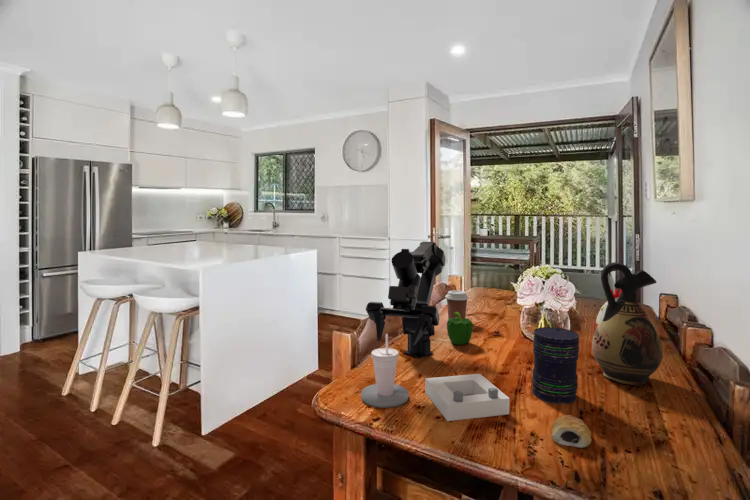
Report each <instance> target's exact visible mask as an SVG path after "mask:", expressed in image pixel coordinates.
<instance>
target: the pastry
mask: <svg viewBox="0 0 750 500" xmlns="http://www.w3.org/2000/svg"><path fill="white" fill-rule="evenodd" d="M551 427H552V428H551V430H552V432H551V439H552V440H553V442H554V443H557V444H559V445H561V446H567V447H574V448H579V449H583V448H587V447H589V446H590V445H591V443H592V441H593V440H592V432H591V431H590V428H589V427H588V425H587V424H586V423H585V421H583V420H582V419H581V418H579V417H576V416H573V415H571V414H566V415H560V416H557V418H556V419H555V420H554V422H553V424H552V426H551Z"/></svg>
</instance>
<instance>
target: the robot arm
mask: <svg viewBox="0 0 750 500" xmlns="http://www.w3.org/2000/svg"><path fill="white" fill-rule="evenodd" d="M391 264H392V267H393V271H394V273H395V275H396V279H398V284H397V286H396V285H390V286H389V287H388V294H387V295H388V296H387V299H388V300H389V301H390V302H389V304H390V306H392V307H385V305H384V303H383V302H379V301H369V302H368V303H367V304H366V306H365V311H366V313H367V315H368V317H369V319H370V320H371V321H373V323H374V324H375V329H376V338H377V339H376V340H377V342H381V340H382V337H383V333H384V330H385V325H386V321H385V320H386V318H387V316H390V317H402V320H401V325H402V331H403V332H402V333H403V335H407V350H404V351H403V353H404V354H406V355H409V356H411V357H412V356H413V357H415V358H418V359H420V358H423V357H426V356H429V355H432V354H434V351H432V350H431V346H432V345H431V343H432V342H431V339H430V338H431V337H434V336H435V333H436V331H435V330H436V329H435V327H436V326H437V327H438V326H439V324H440V313H439V310H438V308H437V306H436V305H430V302H431V297H432V293H433V290H434V285H435V281H436V277H437V276H438V275H440V274H441V273H442V272H443V269H444V267H445V265H446V255H445V252H444V250H443V249H441V248H440V247H439V246H438V245H437V243H436V242H435V241H422V242H420V243H419V245H418V247H416V249H414V250H413V251H410V249H409V248H402V249H401V250H400V251H399V252H397V253H395V254H394V255H393V257H392V258H391ZM419 274H421V275H419Z"/></svg>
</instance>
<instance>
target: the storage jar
mask: <svg viewBox="0 0 750 500" xmlns="http://www.w3.org/2000/svg"><path fill="white" fill-rule="evenodd" d="M533 335H534V336H533V341H532V342H533V343H532V344H533V345H532V346H533V348H532V355H534V357H533V369H532V376H531V382H532V389H531V393H532V395H533V396H534V397H535V396H536V397H535V398H537V399H538V398H539V399H538V400H540V399H541V401H543V402H546V403H549V404H550V403H551V404H556V405H569V404H573V403H575V402H576V401H577V397H578V396H577V393H578V383H579V382H578V375H577V371H578V370H577V369H578V365H577V364H578V360H579V356H580V355H579V352H580V345H579V344H580V341H579V340H580V334H579V333H578V332H576V331H574V330H572V329H571V330H570V329H567V328H566V329H565V328H560V327H554V326H553V327H552V326H551V327H550V326H547V327H538V328H535V329H534V330H533Z"/></svg>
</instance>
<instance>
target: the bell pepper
mask: <svg viewBox="0 0 750 500" xmlns="http://www.w3.org/2000/svg"><path fill="white" fill-rule="evenodd" d="M455 315H458V317H456V318H449V320H448V319H447V323H446V330H447V335H448V339H449V341H450V343H452V345H453V344H454V345H464V344H469V342H470V341H471V338H472V334H473V329H474V327H473V325H474V324H473V322H472V321H471V319H469V318H468V317H467V318H466V317H465V319H461V315H460V313H458V312H455Z"/></svg>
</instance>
